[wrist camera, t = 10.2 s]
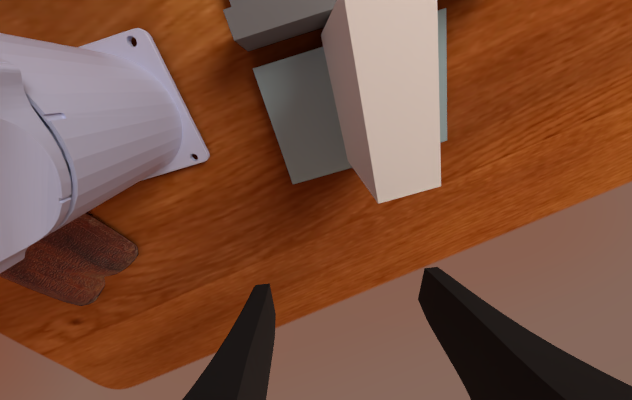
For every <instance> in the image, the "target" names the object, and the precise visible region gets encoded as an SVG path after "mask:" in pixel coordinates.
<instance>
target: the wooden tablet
mask: <svg viewBox="0 0 632 400" xmlns="http://www.w3.org/2000/svg"><path fill="white" fill-rule="evenodd" d="M137 255H138V248H137V246H136V245H135V244H134V243H132V242H131V241H129V240H128V239H126V238H125V237H124V236H122V235H120V234H119V233H117V232H116V231H114V230H113V229H111V228H109V227H108V226H106V225H104V224H103V223H101V222H100V221H98V220H97V219H95V218H93V217H92V216H90V215H88V214H86V213H85V214H83V215H81V216H80V217H78V218H76V219H74V220H73V221H71V222H69V223H68V224H66V225H64V226H63V227H61V228H59V229H57V230H56V231H54V232H52V233H50V234H49V235H47V236H45V237H44V238H42V239H40V240H39V241H37V242H35V243H34V244H32V245H30V246H29V247H28V248H27V249H26V252H25V258H24V259H23V260H21V261H19V262H18V263H16V264H15V265H13V266H11V267H10V268H8V269H7V270H5V271H3V272H2V273H0V277H3V278H5V279H8V280H10V281H13V282H15V283H17V284H20V285H22V286H24V287H27V288H29V289H32V290H34V291H37V292H40V293H42V294H45V295H47V296H50V297H53V298H55V299H58V300H61V301H64V302H67V303H71V304H75V305H80V306H83V305H87V304H90V303H93V302H94V301H95V300H96V299H97V298H98V296H99V294H100V293H101V291H102V289H103V288H104V285H105V280H104V277H105V276H109V275H114V274H117V273H118V272H120V271H122V270H124V269H125V268H126V267H128V266H129V265H130V264H131V263H132V262H133V261H134V260H135V258H136V257H137Z"/></svg>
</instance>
